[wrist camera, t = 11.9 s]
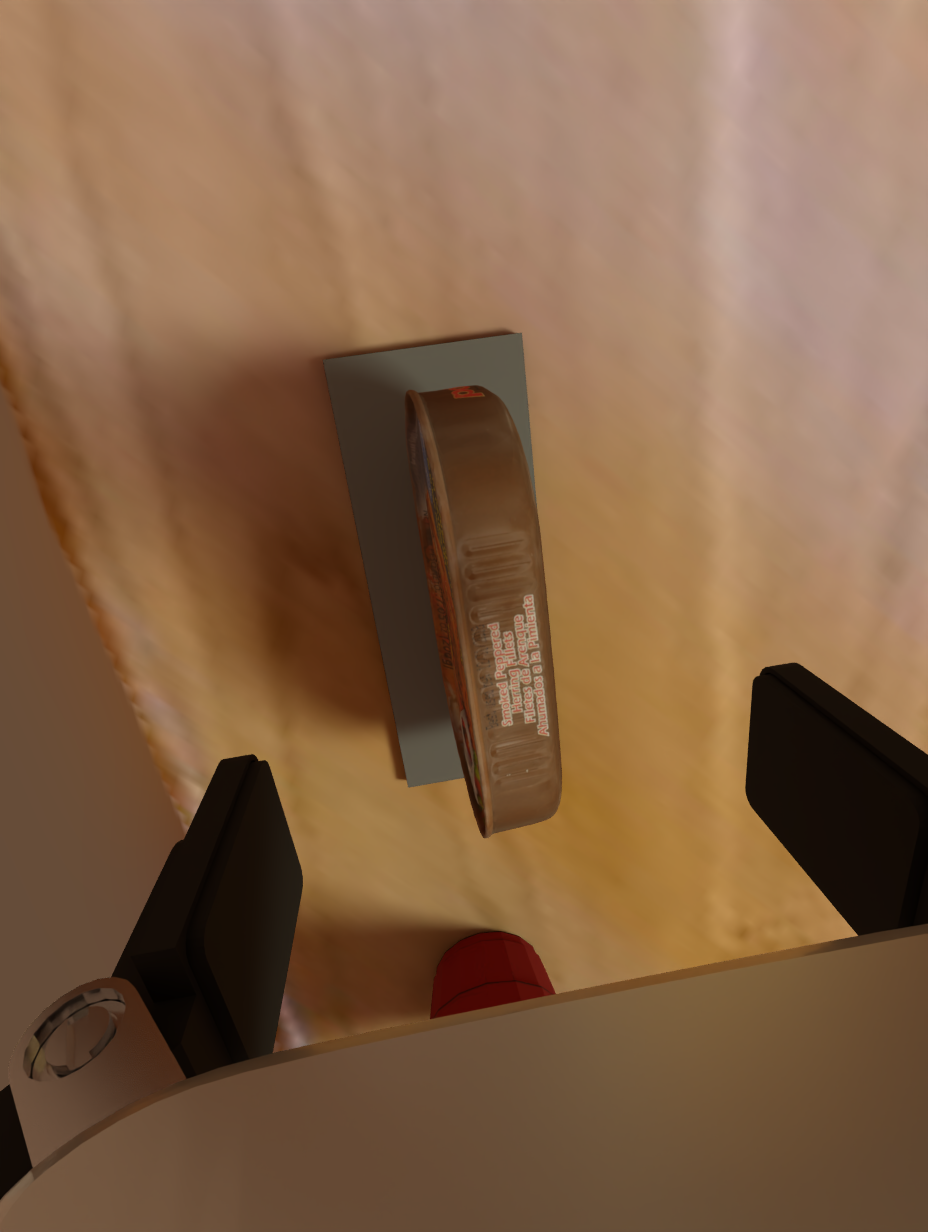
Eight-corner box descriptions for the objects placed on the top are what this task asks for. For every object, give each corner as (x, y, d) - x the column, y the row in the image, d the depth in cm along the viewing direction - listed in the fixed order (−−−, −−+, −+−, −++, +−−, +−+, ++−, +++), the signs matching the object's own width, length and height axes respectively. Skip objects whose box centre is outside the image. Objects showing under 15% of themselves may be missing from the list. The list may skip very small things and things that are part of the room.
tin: (396, 392, 21) (395, 390, 13) (483, 380, 21) (534, 370, 13) (453, 749, 26) (477, 899, 18) (522, 737, 26) (575, 881, 19)
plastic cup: (362, 919, 30) (341, 1231, 19) (570, 874, 30) (671, 1154, 19) (406, 1057, 34) (410, 1384, 23) (589, 1016, 34) (682, 1317, 23)
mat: (324, 360, 21) (322, 359, 20) (519, 334, 21) (522, 332, 21) (408, 780, 27) (408, 787, 27) (556, 755, 28) (558, 761, 27)
